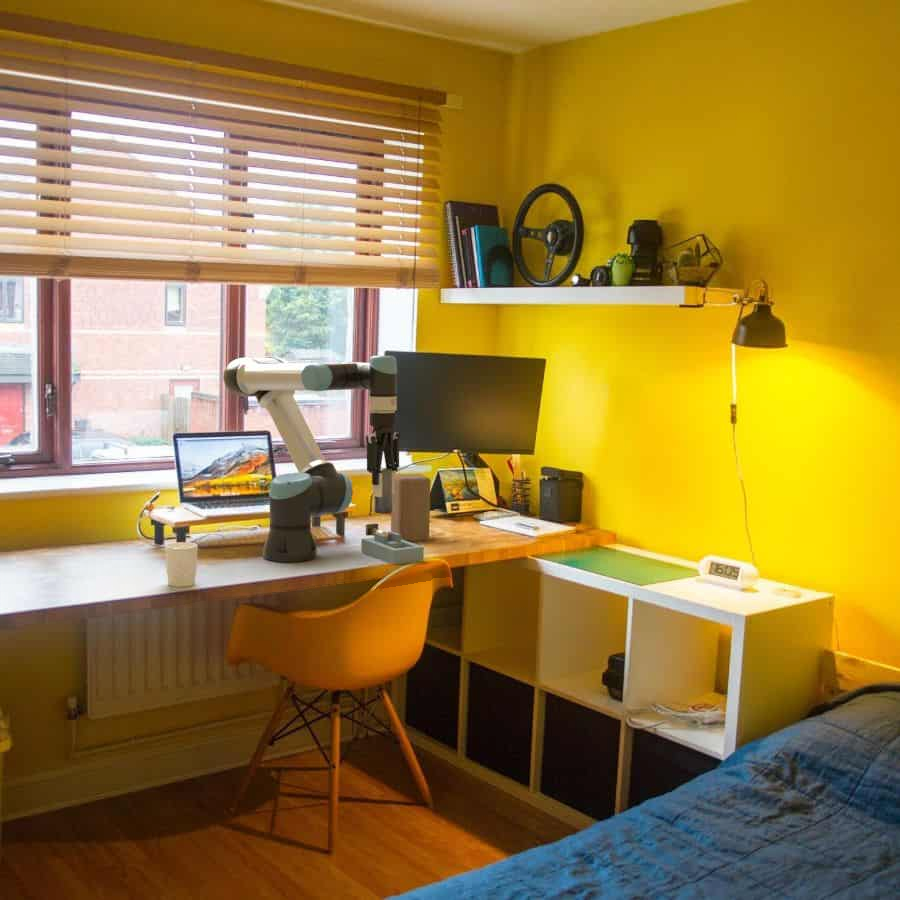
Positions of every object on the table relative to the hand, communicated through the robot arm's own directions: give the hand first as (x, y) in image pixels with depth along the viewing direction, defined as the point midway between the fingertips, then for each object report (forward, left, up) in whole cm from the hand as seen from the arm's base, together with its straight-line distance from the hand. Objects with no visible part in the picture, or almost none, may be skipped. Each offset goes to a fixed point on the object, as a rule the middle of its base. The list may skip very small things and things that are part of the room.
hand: (383, 495), depth 305 cm
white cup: (-57, +3, -20) cm, 61 cm away
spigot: (0, 0, -5) cm, 5 cm away
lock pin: (+7, +14, -15) cm, 21 cm away
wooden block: (+25, +25, -20) cm, 40 cm away
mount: (+7, +6, -19) cm, 21 cm away
